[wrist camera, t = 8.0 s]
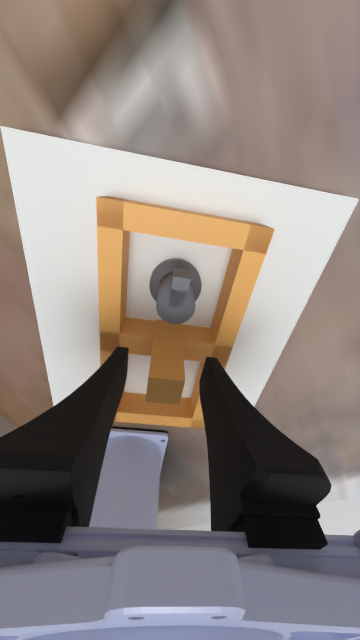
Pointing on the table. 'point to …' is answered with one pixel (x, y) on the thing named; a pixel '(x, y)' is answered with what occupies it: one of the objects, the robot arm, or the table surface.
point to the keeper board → (160, 255)
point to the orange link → (160, 336)
